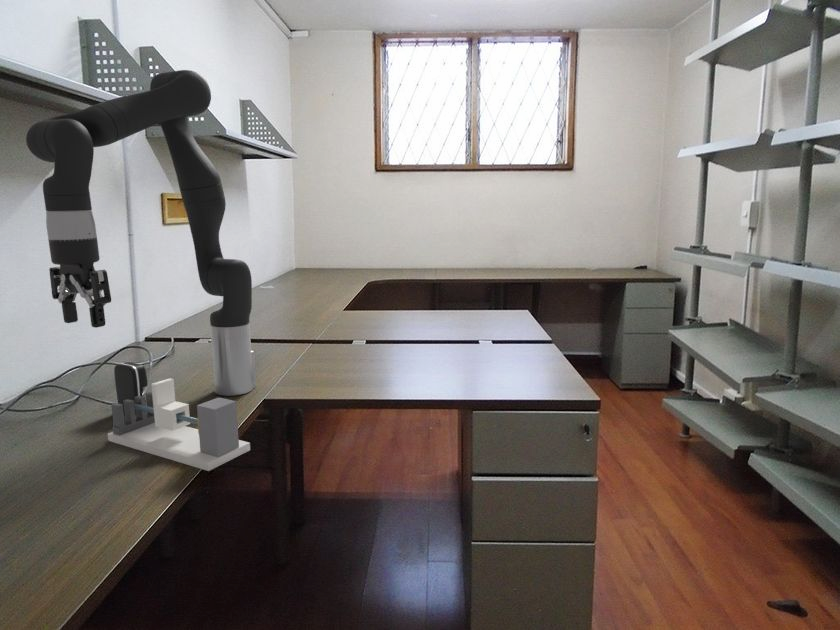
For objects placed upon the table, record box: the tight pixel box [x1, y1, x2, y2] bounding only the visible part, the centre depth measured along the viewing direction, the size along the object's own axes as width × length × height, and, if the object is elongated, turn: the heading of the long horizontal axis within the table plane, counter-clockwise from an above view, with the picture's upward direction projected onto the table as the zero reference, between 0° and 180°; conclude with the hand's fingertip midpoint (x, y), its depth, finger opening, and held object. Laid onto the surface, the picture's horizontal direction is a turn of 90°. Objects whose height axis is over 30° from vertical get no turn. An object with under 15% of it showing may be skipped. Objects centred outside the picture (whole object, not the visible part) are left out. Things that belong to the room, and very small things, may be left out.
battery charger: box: [113, 361, 148, 414], centre depth 127 cm, size 7×4×11 cm, turn 63°
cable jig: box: [107, 391, 251, 472], centre depth 109 cm, size 10×28×10 cm, turn 62°
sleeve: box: [151, 378, 191, 431], centre depth 109 cm, size 4×5×8 cm
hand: (84, 324), depth 105 cm, fingers open, 8 cm apart
